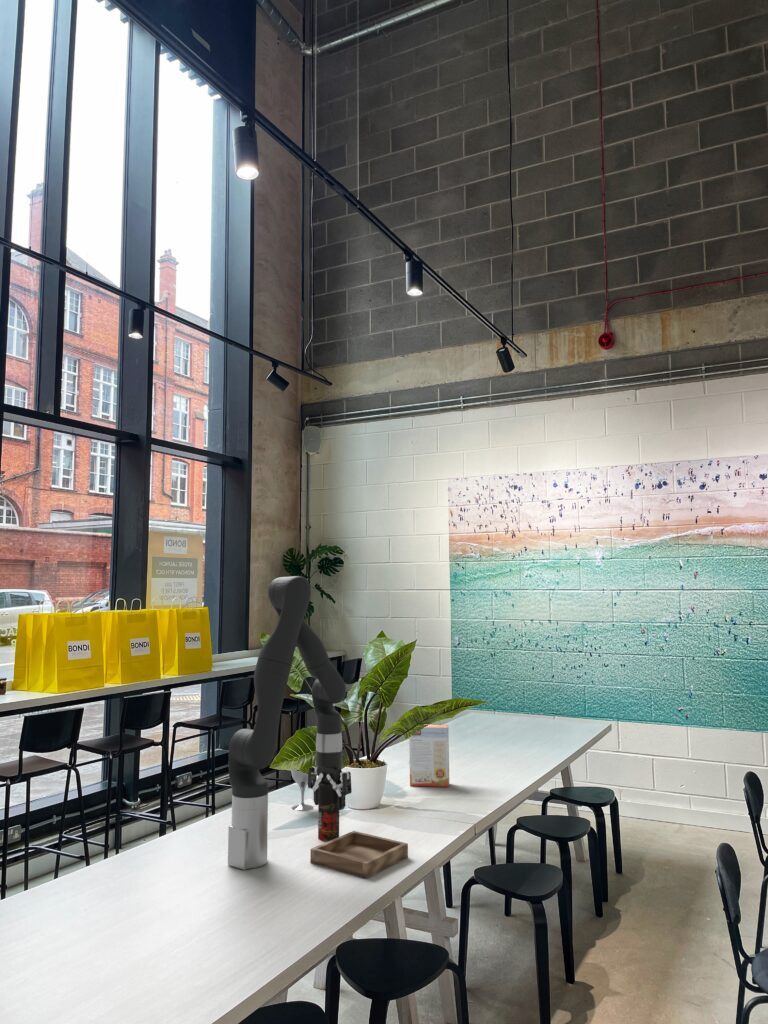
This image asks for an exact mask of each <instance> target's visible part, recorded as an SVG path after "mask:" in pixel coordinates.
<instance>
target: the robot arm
mask: <svg viewBox="0 0 768 1024" xmlns="http://www.w3.org/2000/svg"><path fill="white" fill-rule="evenodd" d="M311 591H312V590H311V585H310V583H309V581H308V580H307V578H305V577H304V576H301V575H300V576H299V575H298V576H297V575H295V576H294V575H293V576H280V577H277V578H274V579H273V580H272V581H271V582H270V583H269V586H268V590H267V595H268V599H269V602H270V604H271V606H272V608H273V609H274V610H275V611H276V613H277V616H278V617H279V618H278V621H277V624H276V626H275V628H274V630H273V631H272V633H271V634H270V635H269V637H268V638H267V640H266V641H265V642H264V645H263V646H262V648H261V650H260V651H259V654H258V657H257V661H256V664H255V669H254V673H253V686H254V691H255V697H256V703H257V714H256V720H255V725H254V727H253V729H251V728H241V729H239V730H237V731H235V732H234V734H233V735H232V737H231V739H230V742H229V746H228V780H229V784H230V786H231V792H232V793H231V825H229V826H228V833H227V835H228V836H227V840H228V841H227V842H228V845H227V865H228V866H230V867H234V868H237V869H240V870H243V871H244V870H248V869H255V868H259V867H262V866H264V865H266V864H267V863H268V839H269V838H268V831H269V830H268V826H269V825H268V824H269V823H268V822H269V783H268V781H267V780H266V778H265V777H264V776H263V775H262V774H261V772H260V770H261V769H264V768H266V767H267V766H269V764H270V763H271V761H272V760H273V758H274V755H275V752H276V749H277V741H278V736H279V735H278V734H279V726H280V720H281V715H282V714H281V713H282V708H283V704H284V703H283V702H284V699H285V693H286V689H287V685H288V681H289V677H290V673H291V668H292V665H293V664H292V663H293V660H294V655H295V650H296V648H297V649H298V651H299V654H300V656H301V658H302V661H303V663H304V665H305V667H306V670H307V672H308V674H309V675H310V676H312V677H314V678H315V680H314V683H313V684H312V688H311V698H312V704H313V708H314V713H315V715H316V716H315V717H316V738H315V766H312V767H309V768H308V785H307V788H308V789H311V790H312V791H313V803H314V805H316V806H318V795H319V783H321V782H322V783H326V784H331V785H332V786H333V789H334V790H336V792H337V794H338V810H339V811H342V810H344V809H345V807H346V796H347V795H350V794H352V777H351V775H352V774H351V772H350V771H345V772H344V771H342V766H343V736H342V715H341V713H340V712H339V711H337V710H336V709H335V707H334V704H335V705H336V704H339V703H341V702H342V701H344V700H345V697H346V694H347V686H346V683H345V681H344V679H343V677H342V676H341V674H340V673H339V671H338V670H337V669H336V667H335V666H334V665H333V664H332V662H331V660H330V657H329V654H328V652H327V650H326V647H325V645H324V643H323V642H322V640H321V638H320V637H319V636H318V634H317V633H316V632H315V630H314V629H313V628H312V627H311V626H310V625H309V623H308V622H307V621H306V619H305V616H306V613H307V610H308V607H309V604H310V600H311V595H312V592H311ZM337 783H339V785H337Z"/></svg>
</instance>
